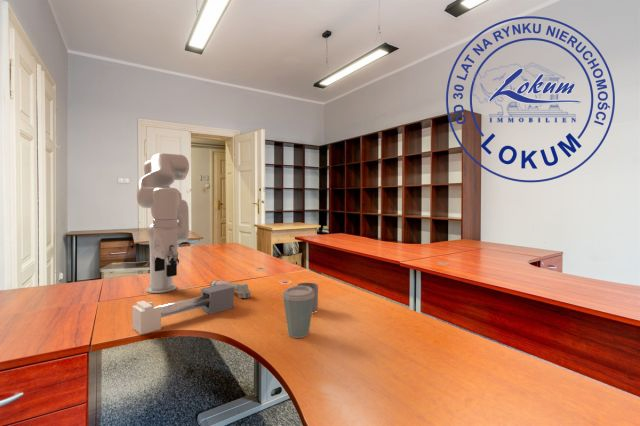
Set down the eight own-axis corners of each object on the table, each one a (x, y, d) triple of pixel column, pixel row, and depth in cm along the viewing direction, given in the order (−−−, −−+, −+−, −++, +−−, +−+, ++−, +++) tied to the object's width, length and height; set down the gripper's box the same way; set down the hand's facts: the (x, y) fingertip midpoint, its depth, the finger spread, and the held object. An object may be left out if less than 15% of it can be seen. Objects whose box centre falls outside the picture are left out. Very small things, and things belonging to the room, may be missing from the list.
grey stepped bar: (217, 279, 155) (252, 281, 140) (218, 292, 155) (253, 296, 140) (208, 281, 151) (243, 283, 136) (209, 295, 151) (244, 299, 136)
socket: (132, 327, 106) (132, 303, 105) (152, 322, 110) (152, 298, 110) (140, 334, 101) (140, 308, 100) (161, 328, 105) (161, 304, 105)
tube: (143, 319, 106) (143, 307, 106) (204, 304, 123) (204, 293, 123) (147, 323, 104) (147, 310, 103) (209, 306, 120) (209, 296, 120)
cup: (320, 308, 128) (321, 284, 127) (311, 315, 120) (312, 289, 120) (302, 305, 131) (303, 281, 131) (292, 311, 124) (293, 286, 123)
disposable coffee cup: (301, 344, 96) (302, 296, 95) (274, 335, 102) (275, 290, 101) (319, 332, 105) (320, 288, 104) (294, 324, 111) (294, 282, 110)
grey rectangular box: (201, 309, 123) (201, 288, 123) (224, 303, 131) (224, 283, 131) (210, 314, 119) (210, 292, 118) (233, 307, 126) (233, 287, 126)
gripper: (144, 222, 111) (144, 270, 112) (164, 227, 100) (164, 280, 101) (165, 221, 117) (166, 267, 118) (187, 225, 105) (187, 276, 106)
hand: (165, 273), depth 109 cm, fingers open, 9 cm apart
